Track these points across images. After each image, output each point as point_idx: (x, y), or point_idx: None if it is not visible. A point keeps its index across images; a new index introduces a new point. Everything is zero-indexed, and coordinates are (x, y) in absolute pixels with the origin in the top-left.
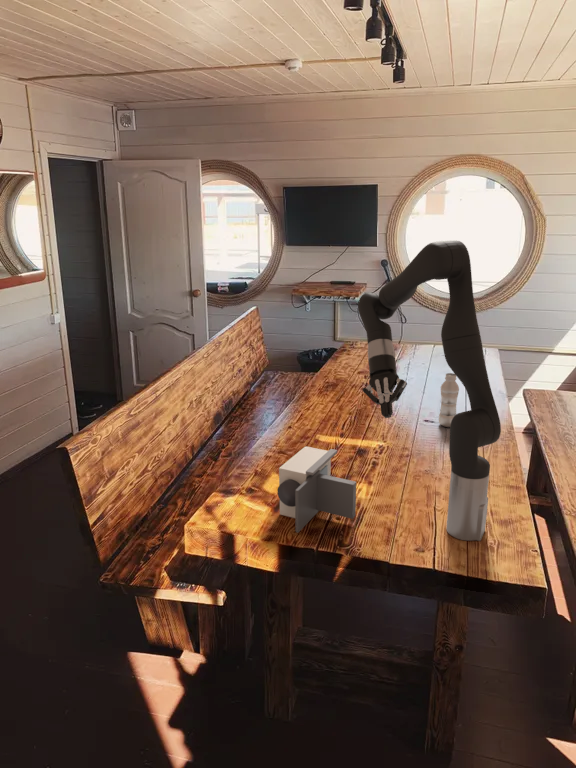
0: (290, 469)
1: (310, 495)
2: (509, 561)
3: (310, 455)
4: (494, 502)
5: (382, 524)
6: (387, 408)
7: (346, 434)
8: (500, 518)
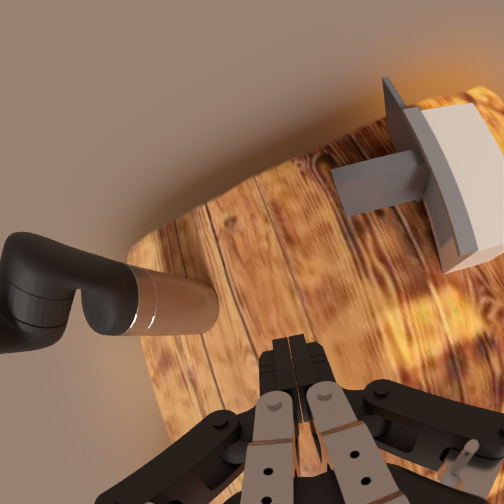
0: (455, 109)
1: (404, 140)
2: None
3: (490, 192)
4: (190, 412)
5: (306, 246)
6: (275, 362)
7: (499, 500)
8: (172, 369)
